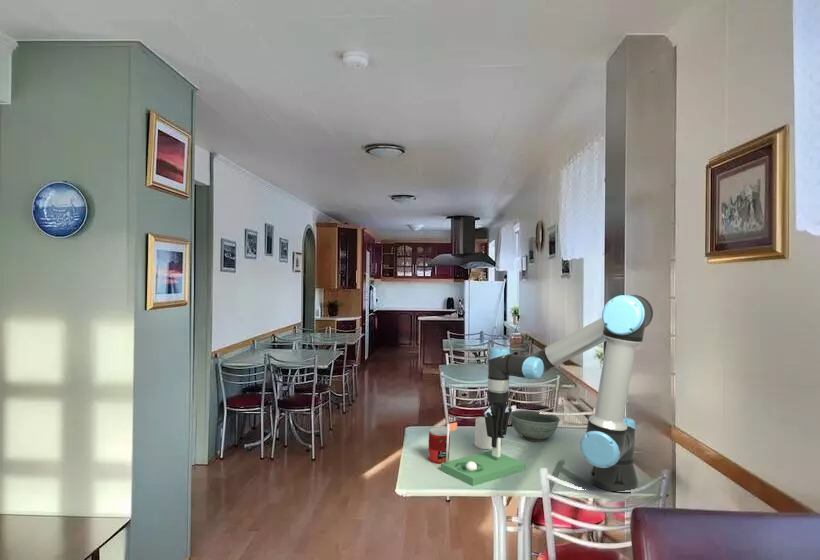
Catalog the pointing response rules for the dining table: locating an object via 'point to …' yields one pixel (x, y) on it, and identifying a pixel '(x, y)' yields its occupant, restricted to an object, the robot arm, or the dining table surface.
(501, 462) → the putting mat
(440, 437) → the canned food
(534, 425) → the bowl
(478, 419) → the mug
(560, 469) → the dining table surface
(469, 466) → the ball
